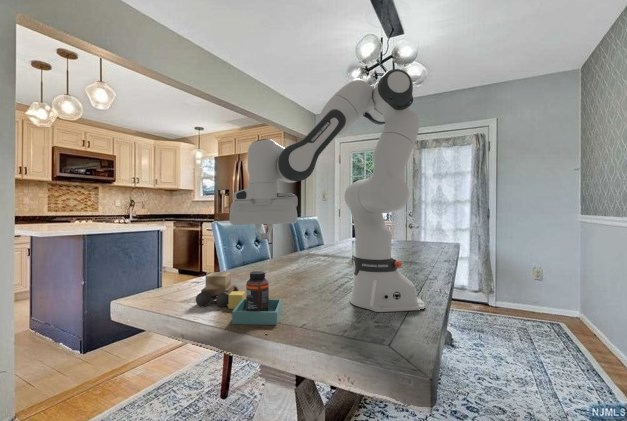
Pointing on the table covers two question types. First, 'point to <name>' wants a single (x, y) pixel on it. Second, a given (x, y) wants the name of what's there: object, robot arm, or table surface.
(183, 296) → the table surface
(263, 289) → the supplement bottle
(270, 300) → the tray
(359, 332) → the table surface
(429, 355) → the table surface
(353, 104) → the robot arm
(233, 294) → the yellow cube
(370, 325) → the table surface
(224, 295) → the trolley
